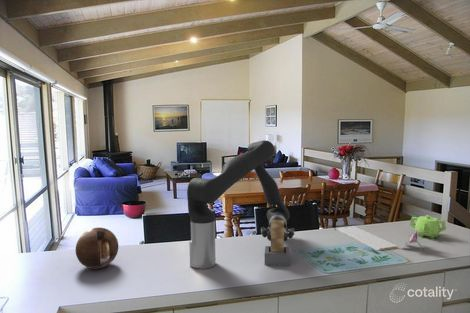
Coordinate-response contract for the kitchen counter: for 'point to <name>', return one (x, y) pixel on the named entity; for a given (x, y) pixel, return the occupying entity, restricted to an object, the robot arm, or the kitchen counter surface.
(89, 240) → the wooden sphere
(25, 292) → the kitchen counter surface
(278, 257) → the endcap
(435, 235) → the teapot
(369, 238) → the baseboard molding
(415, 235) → the lily
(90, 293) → the kitchen counter surface
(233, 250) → the kitchen counter surface
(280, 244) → the tan tall cylinder
